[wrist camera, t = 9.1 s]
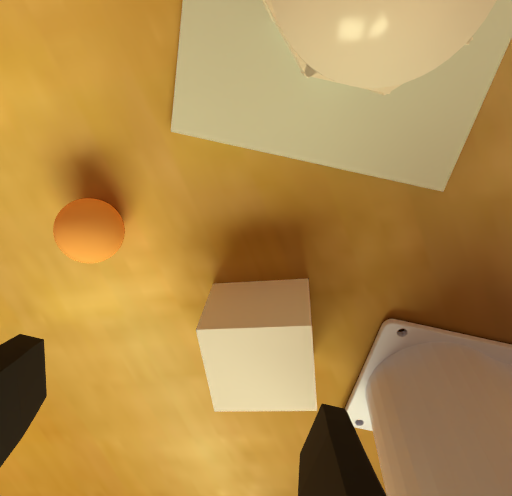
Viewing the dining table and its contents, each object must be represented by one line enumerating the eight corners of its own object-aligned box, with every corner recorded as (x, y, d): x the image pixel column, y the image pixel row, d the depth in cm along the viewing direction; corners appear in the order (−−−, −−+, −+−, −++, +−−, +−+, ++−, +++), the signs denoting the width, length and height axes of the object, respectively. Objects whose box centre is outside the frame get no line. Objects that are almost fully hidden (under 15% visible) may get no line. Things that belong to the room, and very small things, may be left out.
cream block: (308, 276, 19) (311, 325, 16) (313, 352, 21) (317, 410, 18) (213, 282, 20) (195, 329, 16) (227, 355, 22) (214, 411, 18)
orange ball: (136, 197, 18) (108, 220, 15) (132, 251, 19) (106, 281, 17) (74, 183, 18) (36, 204, 15) (76, 239, 19) (40, 267, 17)
